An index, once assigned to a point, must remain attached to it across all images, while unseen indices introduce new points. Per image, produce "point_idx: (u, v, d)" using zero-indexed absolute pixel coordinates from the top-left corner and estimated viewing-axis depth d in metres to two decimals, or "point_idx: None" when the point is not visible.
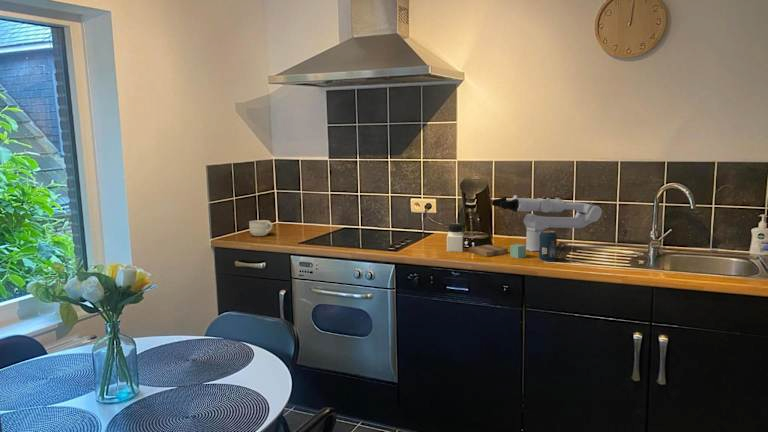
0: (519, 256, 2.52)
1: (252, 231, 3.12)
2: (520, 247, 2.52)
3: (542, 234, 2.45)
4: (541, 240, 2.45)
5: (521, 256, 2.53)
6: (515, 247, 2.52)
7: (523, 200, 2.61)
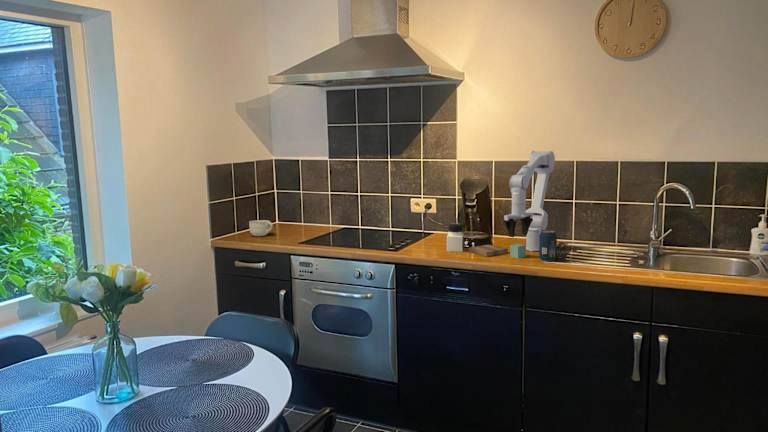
0: (519, 256, 2.52)
1: (252, 231, 3.12)
2: (520, 247, 2.52)
3: (542, 234, 2.45)
4: (541, 240, 2.45)
5: (521, 256, 2.53)
6: (515, 247, 2.52)
7: (525, 207, 2.51)
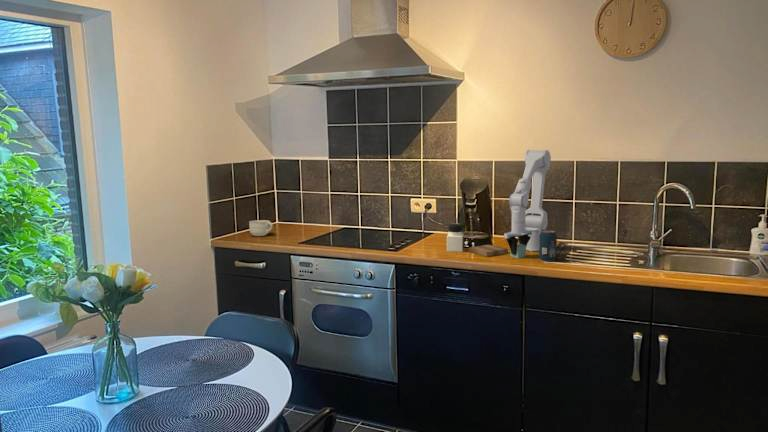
0: (519, 256, 2.52)
1: (252, 231, 3.12)
2: (520, 247, 2.52)
3: (542, 234, 2.45)
4: (541, 240, 2.45)
5: (521, 256, 2.53)
6: None
7: (525, 225, 2.52)
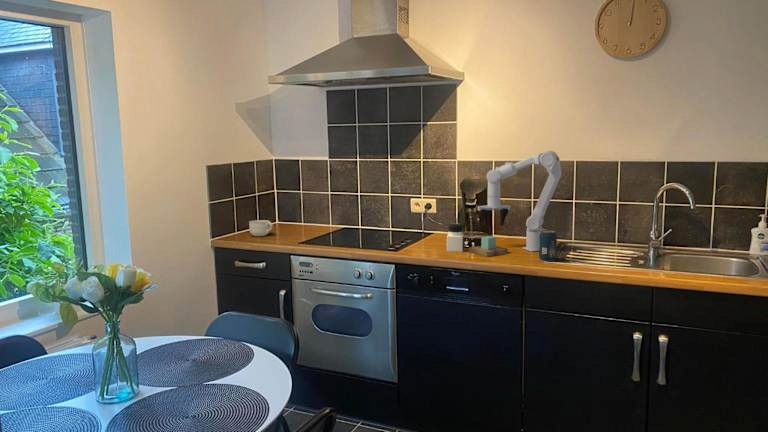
0: (490, 247, 2.60)
1: (252, 231, 3.12)
2: (490, 239, 2.60)
3: (542, 234, 2.45)
4: (541, 240, 2.45)
5: (491, 247, 2.61)
6: (485, 239, 2.61)
7: (499, 200, 2.71)
